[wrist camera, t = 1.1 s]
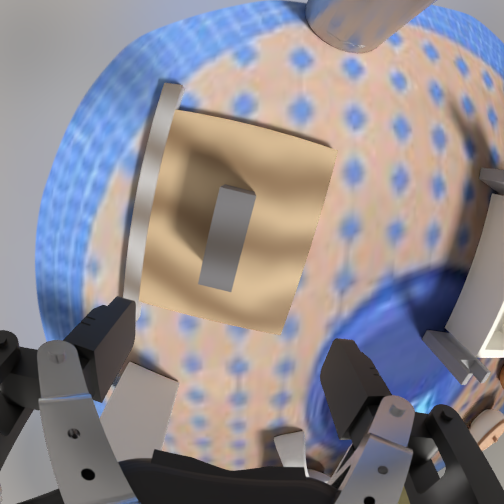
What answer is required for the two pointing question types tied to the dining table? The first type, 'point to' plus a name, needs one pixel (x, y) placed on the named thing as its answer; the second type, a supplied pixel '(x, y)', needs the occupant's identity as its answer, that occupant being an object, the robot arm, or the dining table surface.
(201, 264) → the door
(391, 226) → the dining table surface
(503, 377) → the pastry
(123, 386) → the milk carton
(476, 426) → the lidded jar
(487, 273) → the white open box
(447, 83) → the dining table surface
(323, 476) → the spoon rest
